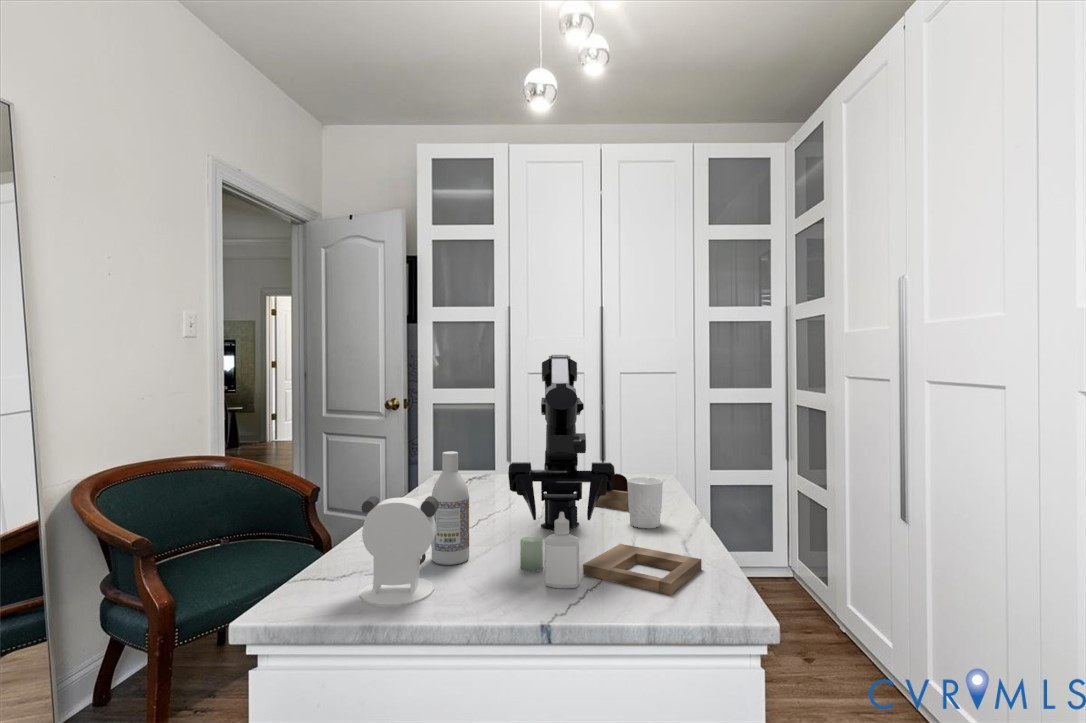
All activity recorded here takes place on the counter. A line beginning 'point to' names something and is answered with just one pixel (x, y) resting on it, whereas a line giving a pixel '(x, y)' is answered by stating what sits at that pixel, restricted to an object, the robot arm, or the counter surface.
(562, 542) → the eye dropper bottle
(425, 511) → the panda figurine
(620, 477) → the dark brown rounded piece
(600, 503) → the walnut watch frame
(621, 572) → the walnut square frame
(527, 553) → the pale green rounded cylinder
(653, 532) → the counter surface
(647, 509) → the white cup
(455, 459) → the bath foam
